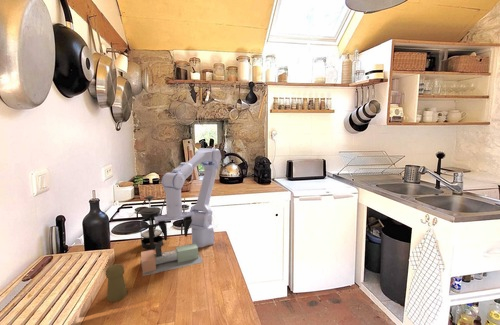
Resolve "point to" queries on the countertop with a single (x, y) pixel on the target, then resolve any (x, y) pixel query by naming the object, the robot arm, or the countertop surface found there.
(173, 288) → the countertop surface
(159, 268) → the base board
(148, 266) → the socket block
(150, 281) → the countertop surface
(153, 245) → the french press
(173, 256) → the sliding bolt
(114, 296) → the olive green pepper mill
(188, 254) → the outer sleeve
